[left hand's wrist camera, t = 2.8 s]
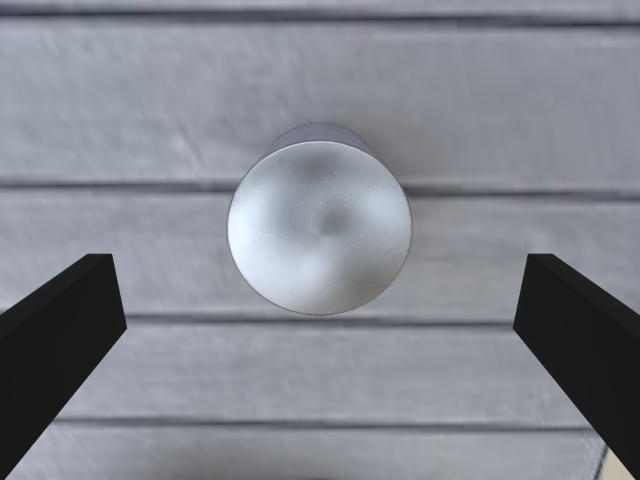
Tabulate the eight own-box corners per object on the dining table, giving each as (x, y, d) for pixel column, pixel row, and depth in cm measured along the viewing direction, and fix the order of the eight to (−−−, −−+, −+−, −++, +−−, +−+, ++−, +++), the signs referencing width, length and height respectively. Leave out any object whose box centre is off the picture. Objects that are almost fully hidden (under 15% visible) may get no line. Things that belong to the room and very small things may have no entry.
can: (390, 130, 26) (430, 152, 17) (370, 249, 29) (394, 323, 20) (261, 115, 26) (229, 128, 16) (254, 237, 29) (223, 307, 19)
